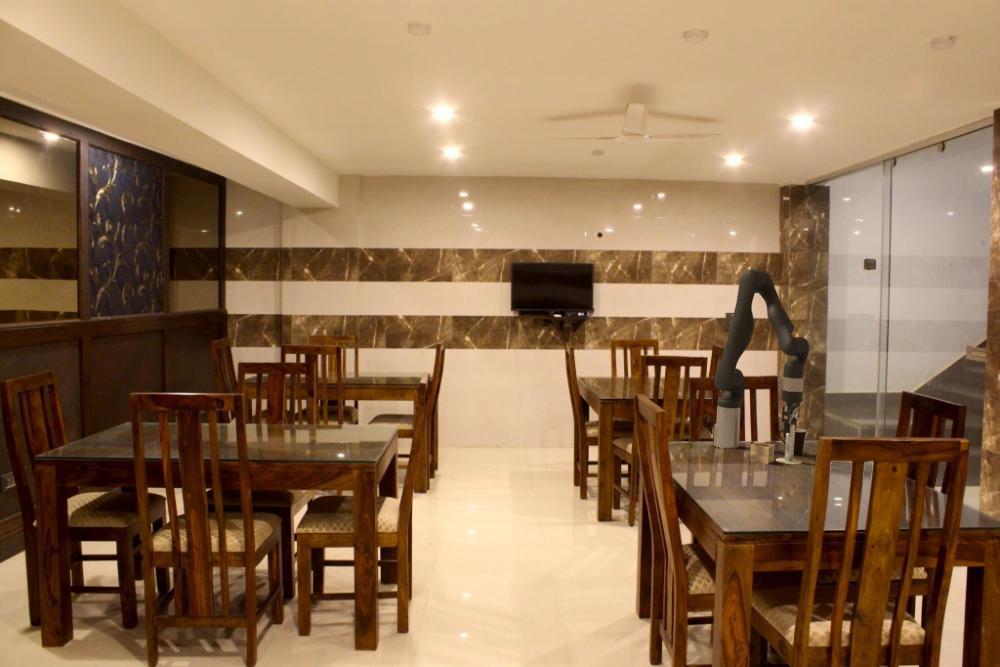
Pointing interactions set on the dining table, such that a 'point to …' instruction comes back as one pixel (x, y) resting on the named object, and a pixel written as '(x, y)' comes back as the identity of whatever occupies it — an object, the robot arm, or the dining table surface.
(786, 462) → the saucer
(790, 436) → the rod
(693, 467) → the dining table surface
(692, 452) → the dining table surface
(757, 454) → the holder
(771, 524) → the dining table surface
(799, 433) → the coffee mug
